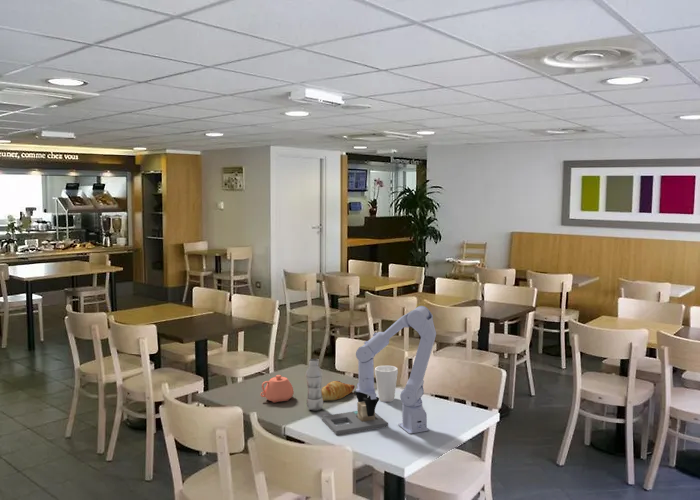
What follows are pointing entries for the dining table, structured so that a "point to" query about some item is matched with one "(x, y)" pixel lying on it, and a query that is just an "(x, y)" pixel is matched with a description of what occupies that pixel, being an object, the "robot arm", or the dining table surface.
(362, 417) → the plug
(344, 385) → the croissant
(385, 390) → the foam cup
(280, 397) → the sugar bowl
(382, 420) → the socket panel
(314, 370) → the plastic bottle
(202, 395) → the dining table surface
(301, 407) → the dining table surface
